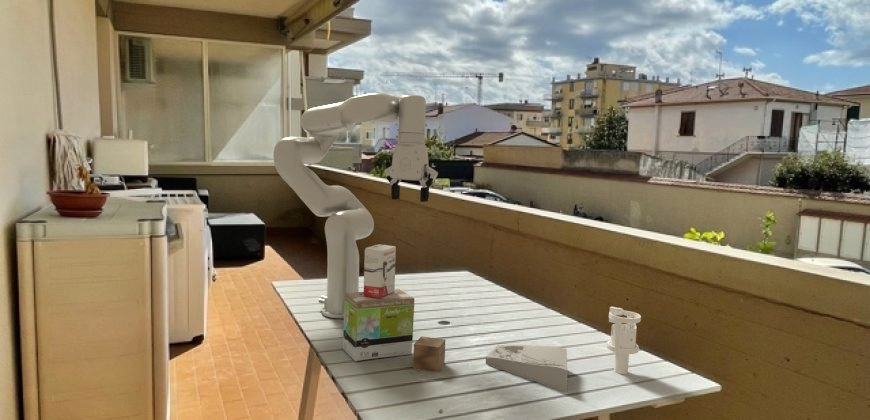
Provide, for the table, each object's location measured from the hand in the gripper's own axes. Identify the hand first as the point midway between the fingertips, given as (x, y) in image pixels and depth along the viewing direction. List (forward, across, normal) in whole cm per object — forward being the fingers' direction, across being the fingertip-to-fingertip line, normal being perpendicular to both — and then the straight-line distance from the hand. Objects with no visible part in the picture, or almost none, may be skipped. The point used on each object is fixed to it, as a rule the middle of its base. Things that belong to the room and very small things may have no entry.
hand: (409, 200), depth 159 cm
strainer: (+36, +61, -1) cm, 71 cm away
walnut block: (+36, +22, -24) cm, 49 cm away
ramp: (+37, +42, -12) cm, 57 cm away
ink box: (+22, +7, -23) cm, 32 cm away
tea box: (+37, +7, -23) cm, 44 cm away
